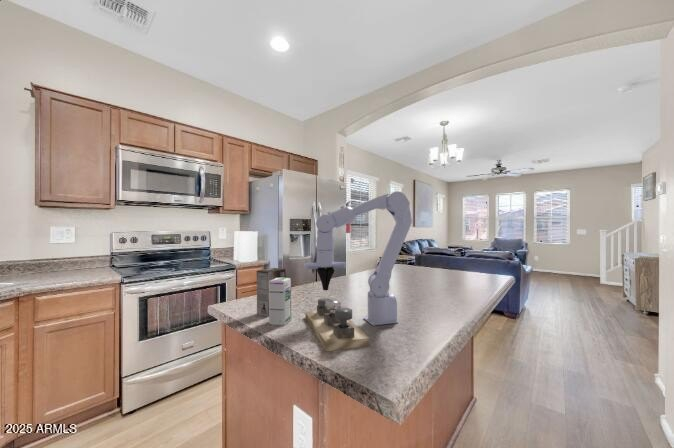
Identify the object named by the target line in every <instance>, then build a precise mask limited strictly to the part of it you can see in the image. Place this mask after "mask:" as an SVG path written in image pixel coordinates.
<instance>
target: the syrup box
mask: <svg viewBox="0 0 674 448" xmlns="http://www.w3.org/2000/svg"><path fill="white" fill-rule="evenodd" d="M291 279H292V278H291V277H286V278H275V279H273V280H270V281H269V317H268V324H269V325H273V326H286V325H288V323H289V322H291V320H292V285H291V284H292V280H291Z"/></svg>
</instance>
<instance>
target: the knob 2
mask: <svg viewBox="0 0 674 448" xmlns="http://www.w3.org/2000/svg"><path fill="white" fill-rule="evenodd" d="M352 309H353V308H352ZM352 309H351V308H350V307H341V308H337V309H335V319H337V320H340V327H342V328H345V327H347V320H350V321H351V320H352V319H353V310H352Z"/></svg>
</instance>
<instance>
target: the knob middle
mask: <svg viewBox="0 0 674 448" xmlns="http://www.w3.org/2000/svg"><path fill="white" fill-rule="evenodd" d="M328 299H329V300H326V301H325V308H326V309H329V310H330V316H332V317H333V316H335V309H337V308H342V300H341V299H337V298H334V299H333V298H328Z"/></svg>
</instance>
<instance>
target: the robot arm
mask: <svg viewBox="0 0 674 448" xmlns="http://www.w3.org/2000/svg"><path fill="white" fill-rule="evenodd" d="M410 205H411V203H410V200H409V199H408V197H407V196H406V194H405V193H403V192H402V191H393V192H392V193H387V194H382V195H380V196H376V197H375V198H374V197H373V198H372V199H369V200H368V201H365V202H364V203H360V204H358V205H357V206H356V205H355V206H354V207H350V206H348V205H347V206H344V205H342V206H341V205H340V208H338V209H337V210H334V211H332V212H331V211H329V212H327V214H322V215H321V216H319V217H318V218H317V219H316V222H315V225H316V228H317V233H316V235H317V237H316V262H305V263H303V269H304V270H307V271H308V270H316V271H317V274H318V276H319V279H320V282H321V286H322V290H323V291H328V290H329V287H330V284H331V283H330V282H331V279H332V277H333V275H334V274H335V269H346V268H347V262H346V261H335V260H334V259H335V258H334V256H335V255H334V254H335V253H334V252H335V251H334V245H335V244H334V234H333V233H334V230H333V229H334V228H336V229H338V228H341V227H342V226H345V225H348V224H350V223H353V222H354V221H355V219H356V217H358V216H360V215H363V214H366V213H368V212H371V211H374V210H377V209H378V210H383V211H384V210H387V212H389V213H390V214H391V216H392V217H393V220H394V222H395V224H394V226H393V228H392V229H393V230H392V232H391V235H390V237H389V239H388V241H387V244H386V246H385V249H384V251H383V253H382V256H381V258H380V260H379V263H378V265H377V267H376V268H375V270H374V272H373V273H372V274H370V276H369V277H368V280H367V281H368V286H369V291H368V292H367V316H363V317H362V318H363V319H364V320H365V321H366V322H367V323H369V324H371V325H372V326H380V325H381V326H382V325H390V324H398V323H399V320H398V300H397V297H396V296H395V294H393V293H389V291H390V281H391V278H392V271H393V269H394V266H395V264H396V263H397V262H396V261H397V259H398V258H399V257H398V256H399V255H400V252H401V250H402V247H403V245H404V243H405V240H406V237H407V235H408V233H409V231H410V229H411V226H412V223H413V222H412V221H413V219H412V213H411V207H410Z"/></svg>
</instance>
